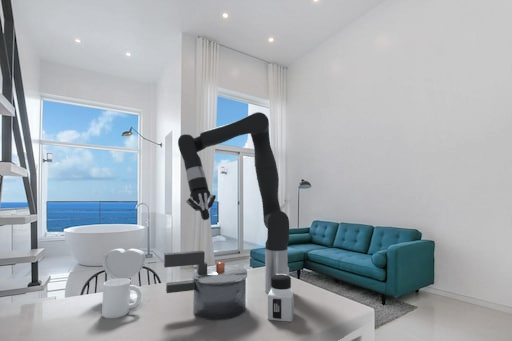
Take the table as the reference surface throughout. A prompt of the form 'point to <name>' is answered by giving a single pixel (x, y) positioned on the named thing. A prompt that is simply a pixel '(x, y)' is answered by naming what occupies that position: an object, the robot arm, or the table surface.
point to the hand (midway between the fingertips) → (206, 219)
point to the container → (281, 298)
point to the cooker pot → (214, 298)
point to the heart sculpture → (123, 264)
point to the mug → (118, 297)
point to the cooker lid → (205, 268)
